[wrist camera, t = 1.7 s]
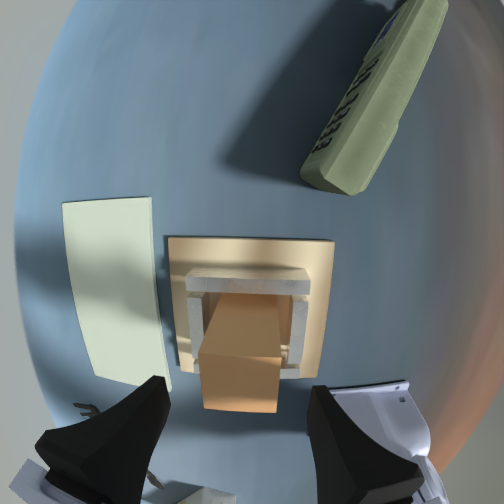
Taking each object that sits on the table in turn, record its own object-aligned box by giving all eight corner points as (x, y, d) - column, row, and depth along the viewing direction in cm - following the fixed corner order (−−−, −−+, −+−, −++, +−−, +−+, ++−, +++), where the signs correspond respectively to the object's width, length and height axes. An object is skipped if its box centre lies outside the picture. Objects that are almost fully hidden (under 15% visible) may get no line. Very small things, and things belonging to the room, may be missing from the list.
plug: (276, 294, 20) (281, 357, 12) (273, 340, 21) (276, 412, 13) (222, 292, 20) (197, 353, 12) (223, 338, 21) (204, 408, 13)
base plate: (332, 240, 19) (334, 242, 19) (315, 373, 22) (316, 377, 21) (170, 236, 20) (168, 237, 19) (182, 367, 23) (181, 371, 22)
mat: (151, 197, 19) (148, 197, 19) (172, 388, 23) (170, 391, 23) (66, 202, 20) (62, 203, 19) (97, 372, 24) (95, 375, 23)
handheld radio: (290, 172, 18) (404, -10, 13) (329, 197, 19) (429, 9, 13) (309, 168, 12) (432, -40, 6) (363, 206, 12) (462, -16, 7)
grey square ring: (305, 268, 19) (310, 280, 17) (296, 360, 21) (299, 378, 19) (194, 265, 20) (185, 276, 17) (200, 355, 21) (194, 373, 19)
